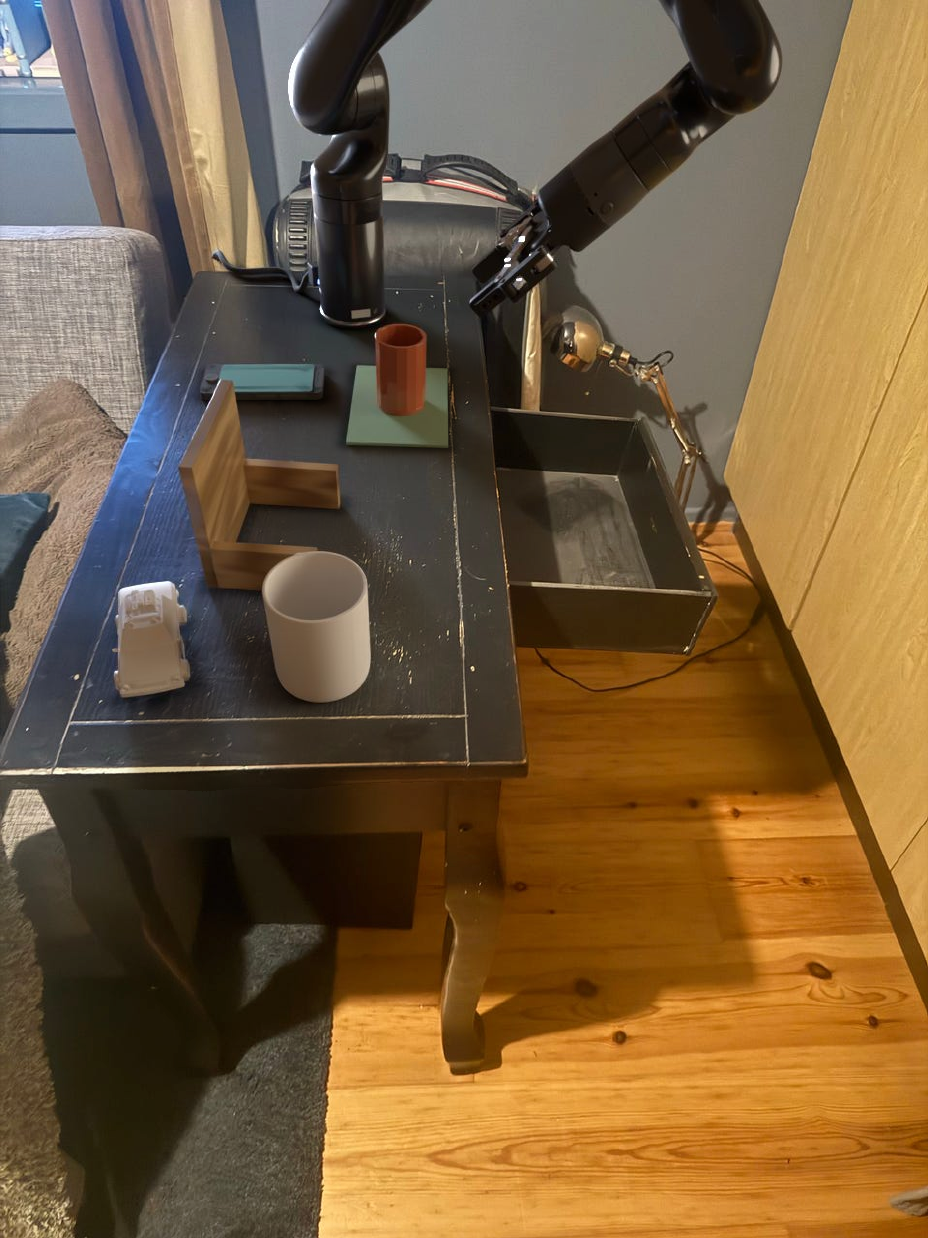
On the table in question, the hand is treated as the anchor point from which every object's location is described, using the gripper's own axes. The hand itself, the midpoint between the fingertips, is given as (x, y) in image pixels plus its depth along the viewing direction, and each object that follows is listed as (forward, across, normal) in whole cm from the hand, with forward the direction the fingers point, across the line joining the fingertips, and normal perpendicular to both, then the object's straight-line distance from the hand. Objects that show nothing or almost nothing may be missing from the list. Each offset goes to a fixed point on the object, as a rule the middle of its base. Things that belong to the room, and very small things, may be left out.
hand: (475, 293), depth 92 cm
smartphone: (+29, -2, -8) cm, 30 cm away
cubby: (+23, +28, -2) cm, 36 cm away
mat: (+17, 0, +5) cm, 17 cm away
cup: (+16, 0, +4) cm, 17 cm away
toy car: (+29, +44, -8) cm, 53 cm away
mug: (+19, +42, +2) cm, 47 cm away
